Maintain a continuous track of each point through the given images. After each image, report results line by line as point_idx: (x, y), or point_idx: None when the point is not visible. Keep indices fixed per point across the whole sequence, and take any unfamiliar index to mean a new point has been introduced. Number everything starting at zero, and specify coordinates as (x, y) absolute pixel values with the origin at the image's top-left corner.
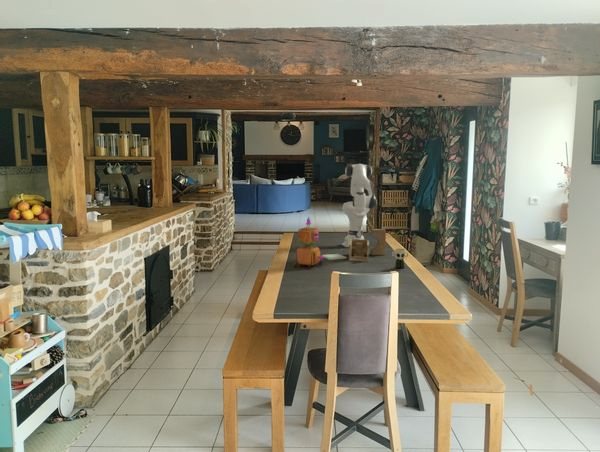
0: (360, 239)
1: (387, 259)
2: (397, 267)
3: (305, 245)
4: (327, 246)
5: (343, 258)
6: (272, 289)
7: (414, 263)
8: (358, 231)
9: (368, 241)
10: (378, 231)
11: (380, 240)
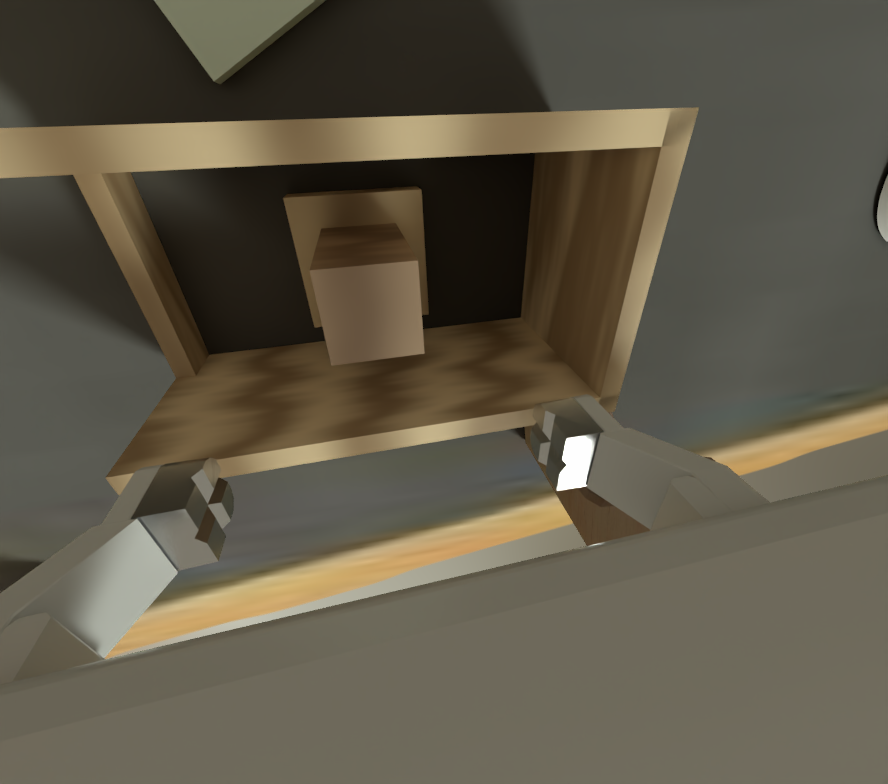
0: (641, 306)
1: (362, 479)
2: None
3: None
4: None
5: (175, 26)
6: None
7: (288, 603)
8: (124, 495)
9: (466, 432)
10: None
11: (583, 506)
